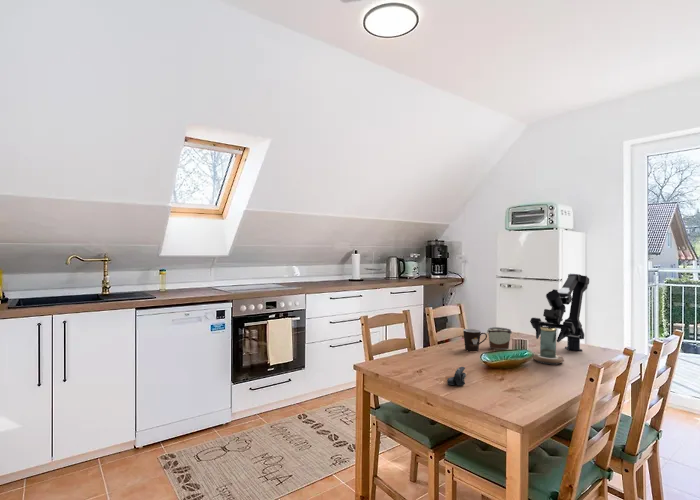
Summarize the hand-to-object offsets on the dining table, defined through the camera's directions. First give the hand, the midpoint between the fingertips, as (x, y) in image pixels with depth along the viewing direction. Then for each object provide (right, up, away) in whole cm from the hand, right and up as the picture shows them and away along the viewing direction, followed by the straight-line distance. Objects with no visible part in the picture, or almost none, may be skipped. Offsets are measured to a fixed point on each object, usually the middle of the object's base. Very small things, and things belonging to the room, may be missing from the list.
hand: (546, 340), depth 193 cm
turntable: (+1, -9, +1) cm, 9 cm away
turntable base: (+1, -10, +1) cm, 10 cm away
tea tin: (+1, -8, +1) cm, 8 cm away
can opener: (-47, -10, -28) cm, 56 cm away
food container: (-13, -10, +27) cm, 32 cm away
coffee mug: (-27, -10, +20) cm, 35 cm away
